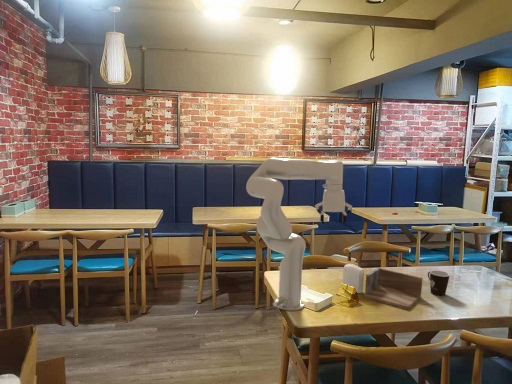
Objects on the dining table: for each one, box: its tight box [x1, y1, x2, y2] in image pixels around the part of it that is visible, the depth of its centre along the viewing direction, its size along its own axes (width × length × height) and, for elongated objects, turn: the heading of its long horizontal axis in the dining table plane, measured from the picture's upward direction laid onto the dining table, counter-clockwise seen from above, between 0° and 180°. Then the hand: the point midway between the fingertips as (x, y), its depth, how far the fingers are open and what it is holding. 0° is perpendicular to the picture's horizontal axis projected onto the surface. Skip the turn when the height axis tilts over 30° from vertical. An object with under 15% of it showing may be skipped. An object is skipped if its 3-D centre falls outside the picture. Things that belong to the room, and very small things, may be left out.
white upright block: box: [342, 263, 365, 294], centre depth 192 cm, size 10×4×12 cm, turn 39°
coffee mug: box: [427, 269, 451, 297], centre depth 192 cm, size 12×9×10 cm
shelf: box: [363, 267, 423, 311], centre depth 184 cm, size 18×20×10 cm
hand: (332, 223), depth 189 cm, fingers open, 9 cm apart
